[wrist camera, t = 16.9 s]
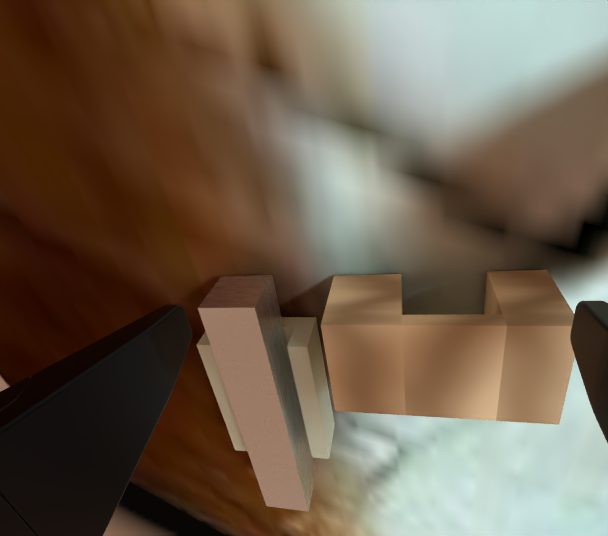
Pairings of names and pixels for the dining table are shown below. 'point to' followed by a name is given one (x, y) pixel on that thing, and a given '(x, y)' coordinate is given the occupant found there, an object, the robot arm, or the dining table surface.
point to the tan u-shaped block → (450, 351)
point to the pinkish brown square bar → (261, 385)
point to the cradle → (307, 380)
